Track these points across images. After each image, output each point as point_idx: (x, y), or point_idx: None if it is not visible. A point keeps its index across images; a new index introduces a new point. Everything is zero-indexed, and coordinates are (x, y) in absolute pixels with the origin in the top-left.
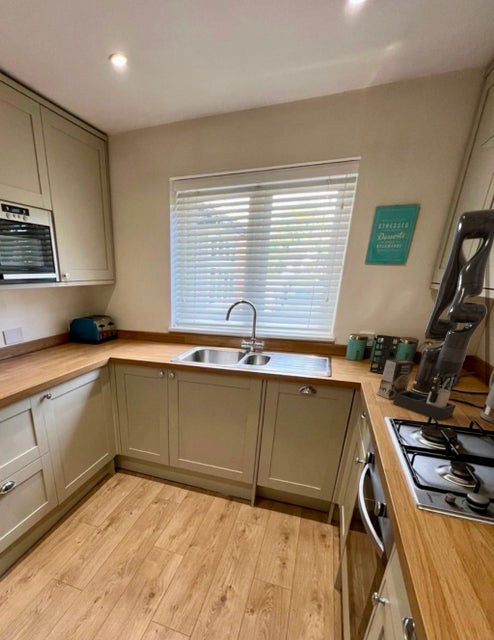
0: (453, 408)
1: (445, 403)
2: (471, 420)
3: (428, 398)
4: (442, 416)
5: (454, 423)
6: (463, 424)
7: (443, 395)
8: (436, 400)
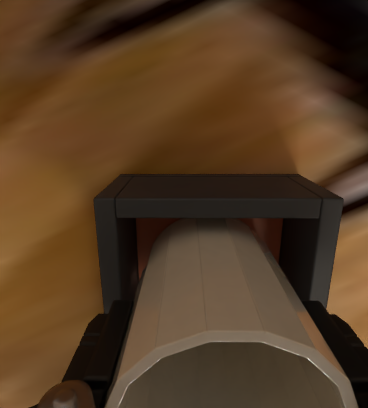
0: (128, 190)
1: (231, 247)
2: (60, 60)
3: (273, 376)
4: (277, 179)
5: (255, 92)
6: (211, 47)
7: (311, 332)
8: (314, 314)
